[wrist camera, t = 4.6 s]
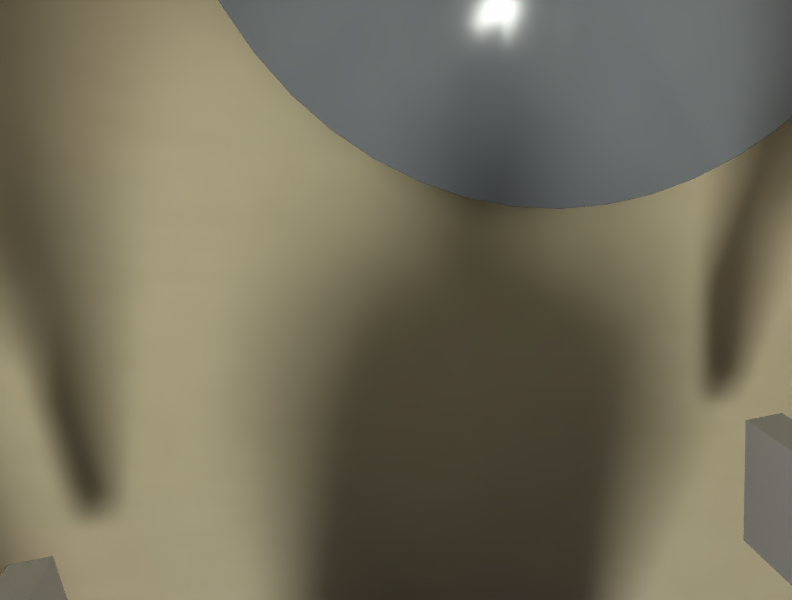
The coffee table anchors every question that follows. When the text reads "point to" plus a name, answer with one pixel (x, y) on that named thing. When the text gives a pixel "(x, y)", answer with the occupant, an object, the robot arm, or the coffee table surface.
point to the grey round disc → (535, 87)
